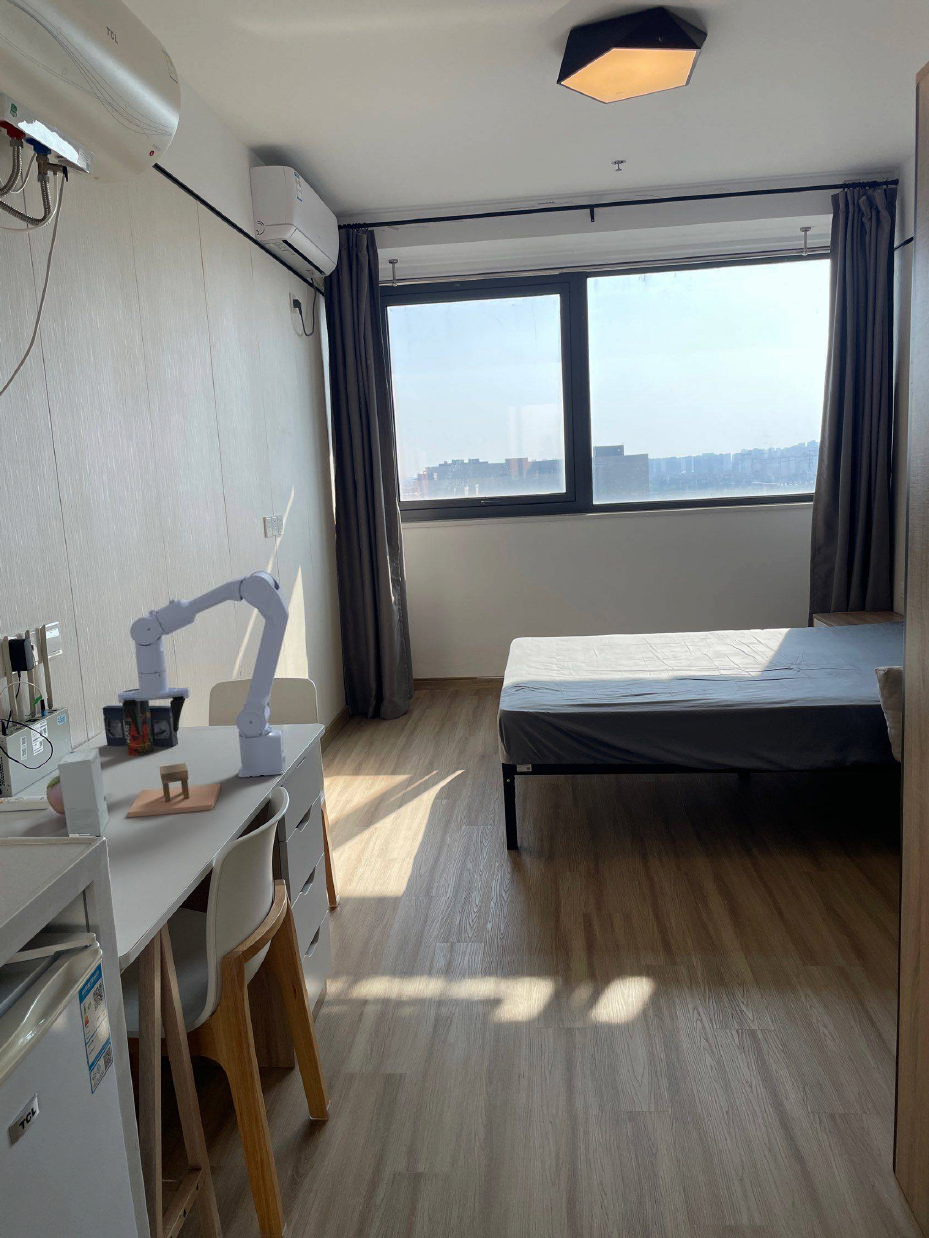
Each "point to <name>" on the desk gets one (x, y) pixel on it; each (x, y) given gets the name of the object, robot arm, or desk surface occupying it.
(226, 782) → the desk surface
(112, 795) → the desk surface
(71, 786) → the skincare box
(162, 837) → the desk surface
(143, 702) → the deodorant
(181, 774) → the stool
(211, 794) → the mat
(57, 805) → the decorative fruit
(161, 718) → the vhs cassette tape
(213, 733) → the desk surface
